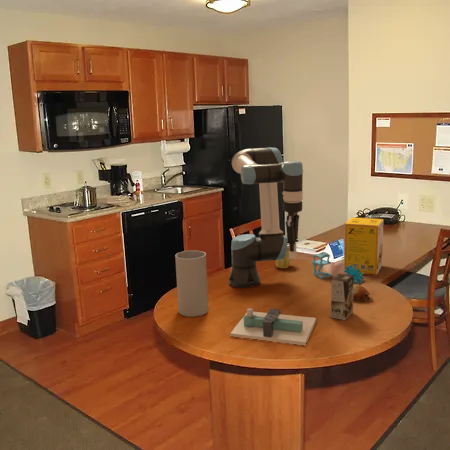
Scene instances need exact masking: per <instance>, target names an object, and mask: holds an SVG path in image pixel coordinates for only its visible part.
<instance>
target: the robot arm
mask: <svg viewBox="0 0 450 450" xmlns="http://www.w3.org/2000/svg"><path fill="white" fill-rule="evenodd" d="M231 166H232V169H233V171H235V172H236V173H237V174H240V180H241V183H242V184H243V185H257V184H259V185H258V187H259V189H258V190H259V203H260V204H259V205H260V220H261V221H260V223H261V225H260V226H261V230H259V232H258V236H256V235H255V234H253V233H246V234H240V235H237V236H235V237H233V238H232V240H231V247H230V249H231V271H230V272H229V273H230V274H229V277H228V284H229V286H231V287H234V288H238V289H239V288H241V289H246V288H247V289H248V288H254V287H256V286H259V284H261V277H260V274H259V272H258V268H257V262H267V261H269V262H270V261H274V262H275V261H276V260H281V259H284V257H285V256H286V253H287V247H289V259H290V260H296V259H297V243H299V223H300V222H299V221H300V214H298V213H301V212H302V211H303V199H304V198H303V197H304V195H303V193H304V192H303V177H304V176H303V175H304V170H303V162H301V161H299V160H287V161H283V156H282V154H281V151H280V150H279V149H278V148H277V147H258V148H245V149H242V150H240V151H238V152H236V153H235V154H234V155H233V157H232V158H231ZM278 183H283V184H282V185H283V186H282V187H283V188H282V191H283V192H281V195H283V196H282V199H283V202H282V210H283V212H285V213H287V215H286V221H285V226H286V235H285V234H284V231H282V230H281V228H280V213H279V197H278V194H279V192H278Z"/></svg>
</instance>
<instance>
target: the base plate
mask: <svg viewBox="0 0 450 450" xmlns="http://www.w3.org/2000/svg"><path fill="white" fill-rule="evenodd" d="M267 313H268V312H263V311H262V312H260V311H253V315H256V316H261V317H265V316H266V315H267ZM245 315H247V312H246V313H245V314H244V315H243V317H242V318H241V319H240V320H239V322H237V323H236V325H235V327H234V328H233V329H232V331H231V332H230V337H231V336H234V337H233V338H235V337H244V338H251V339H250V340H252V339H260V340H267V341H266V342H268V341H275V342H274V343H276V342H282V343H281V344H285V343H289V344H288V345H293V344H297V345H296V346H301V345H304V346H303V347H306V346H307V344H308V342H309V338H310V337H311V334H312V332H313V330H314V327H315V325H316V322H317V317H310V316H309V317H308V316H300V315H299V316H298V315H290V314H280V315H279V317H278V319H287V320H296V321H303V329H302V331H301V332H296V331H288V330H280V329H273V336H272V337H263V327H255V326H254V327H247V326H244V316H245ZM260 340H259V341H260ZM306 343H307V344H306Z"/></svg>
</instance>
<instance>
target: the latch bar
mask: <svg viewBox="0 0 450 450" xmlns="http://www.w3.org/2000/svg"><path fill="white" fill-rule="evenodd" d="M253 312H254V309H253V308H250V307H249V308H246V313H247V315H245V314H244V315H245V316H244V315H243V317H244V326H247V327H254V326H255V327H263V319H264V317H261V316H256V315H253ZM273 329H280V330H288V331H296V332H301V331H302V329H303V321H296V320H287V319H277V320H276V322H275V323H274V325H273Z"/></svg>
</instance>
